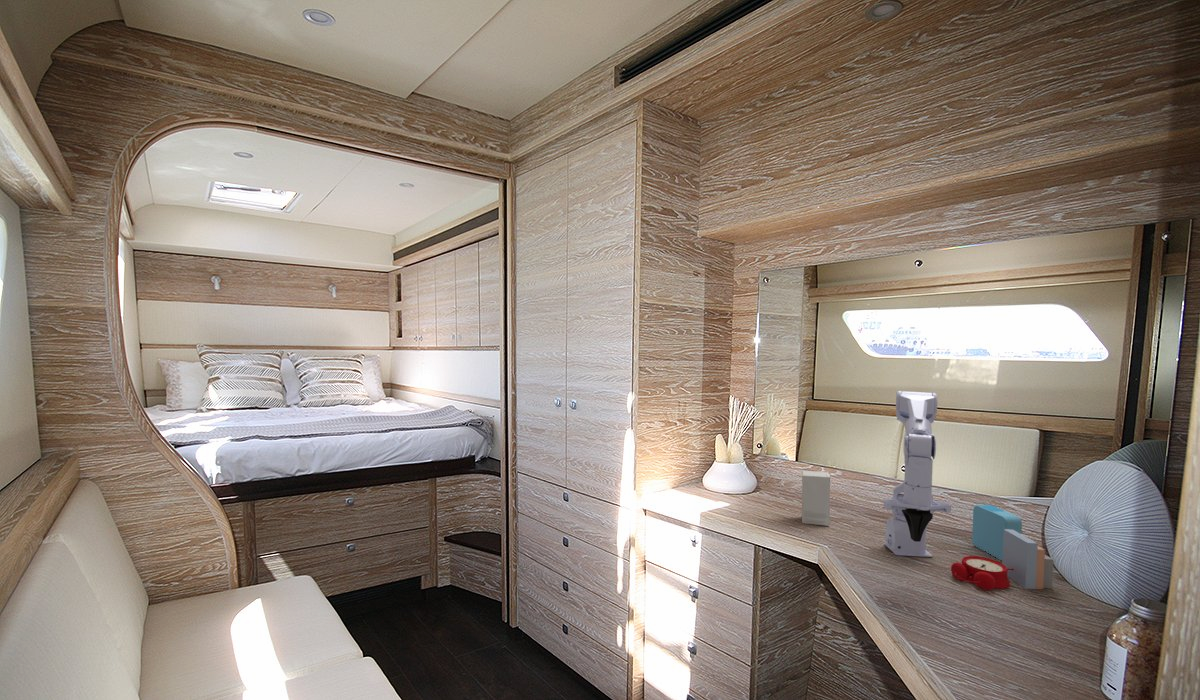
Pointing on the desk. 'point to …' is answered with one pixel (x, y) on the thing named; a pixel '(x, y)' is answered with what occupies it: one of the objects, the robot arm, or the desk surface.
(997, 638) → the desk surface
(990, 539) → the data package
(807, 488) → the skincare box
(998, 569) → the alarm clock
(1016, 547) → the book row
